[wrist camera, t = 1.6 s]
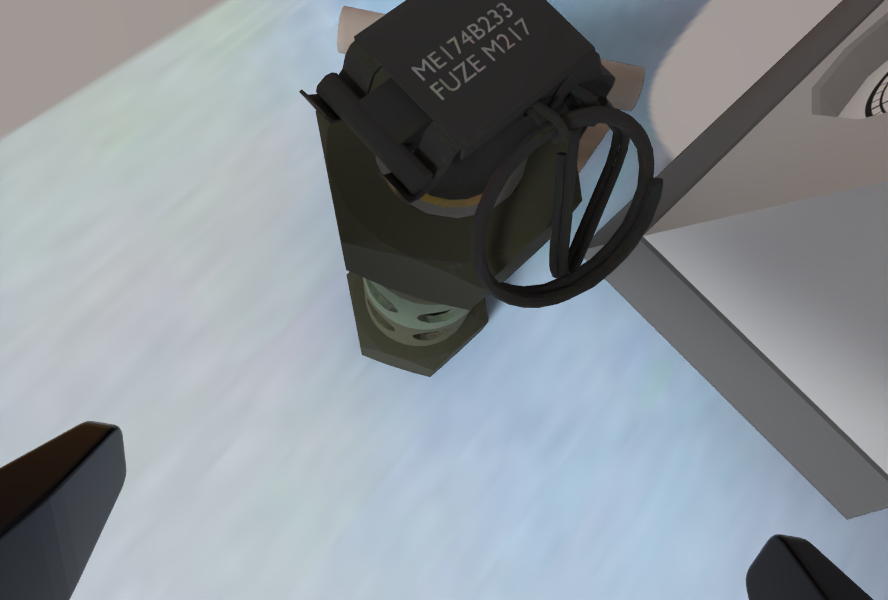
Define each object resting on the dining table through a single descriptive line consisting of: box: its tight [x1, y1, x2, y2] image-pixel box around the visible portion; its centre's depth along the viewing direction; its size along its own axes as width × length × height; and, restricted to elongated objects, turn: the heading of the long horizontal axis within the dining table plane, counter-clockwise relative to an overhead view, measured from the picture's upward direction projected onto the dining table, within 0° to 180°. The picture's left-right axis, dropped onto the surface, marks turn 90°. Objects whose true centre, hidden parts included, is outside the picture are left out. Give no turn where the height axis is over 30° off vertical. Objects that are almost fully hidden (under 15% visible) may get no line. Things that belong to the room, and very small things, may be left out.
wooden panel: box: [337, 6, 644, 174], centre depth 20 cm, size 1×8×7 cm, turn 81°
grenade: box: [299, 0, 663, 377], centre depth 15 cm, size 6×6×15 cm
